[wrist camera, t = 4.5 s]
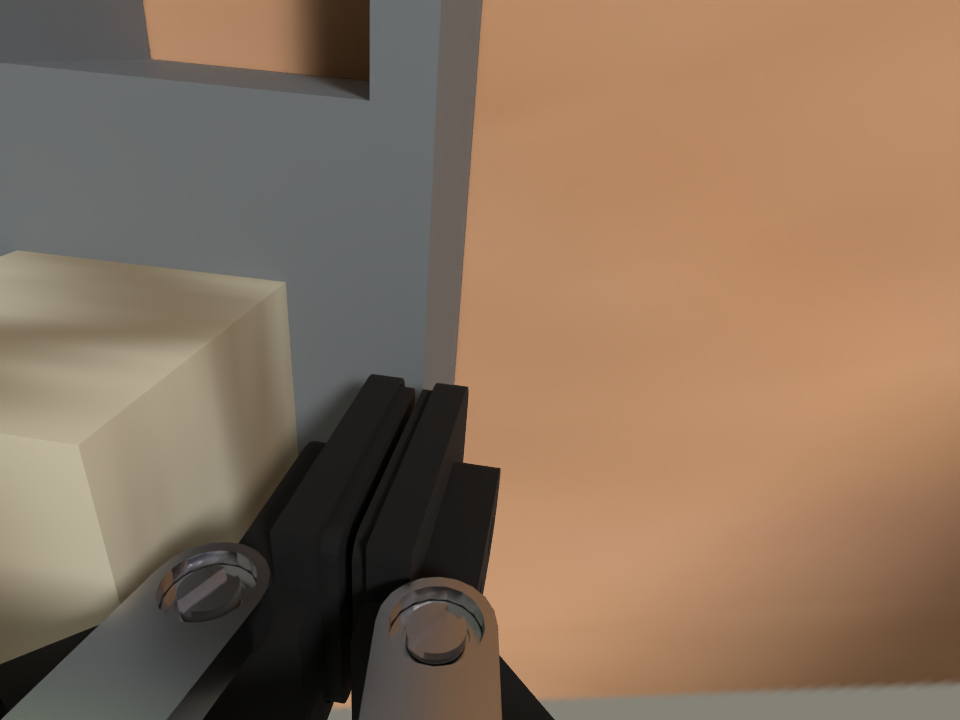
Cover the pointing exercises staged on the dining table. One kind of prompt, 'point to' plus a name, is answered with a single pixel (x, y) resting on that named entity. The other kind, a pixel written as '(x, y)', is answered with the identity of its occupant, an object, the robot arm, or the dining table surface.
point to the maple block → (129, 429)
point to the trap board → (257, 178)
